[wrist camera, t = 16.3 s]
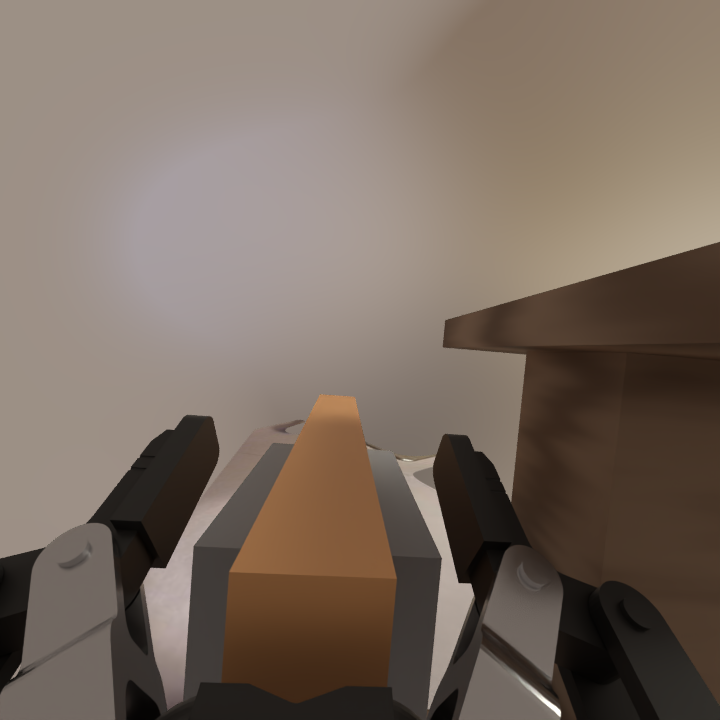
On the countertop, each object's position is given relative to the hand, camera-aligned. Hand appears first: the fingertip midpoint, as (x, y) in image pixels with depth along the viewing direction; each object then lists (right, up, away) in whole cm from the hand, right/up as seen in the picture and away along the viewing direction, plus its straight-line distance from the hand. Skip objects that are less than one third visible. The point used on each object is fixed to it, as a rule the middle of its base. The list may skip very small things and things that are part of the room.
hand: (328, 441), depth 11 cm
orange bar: (-1, -5, +8) cm, 9 cm away
